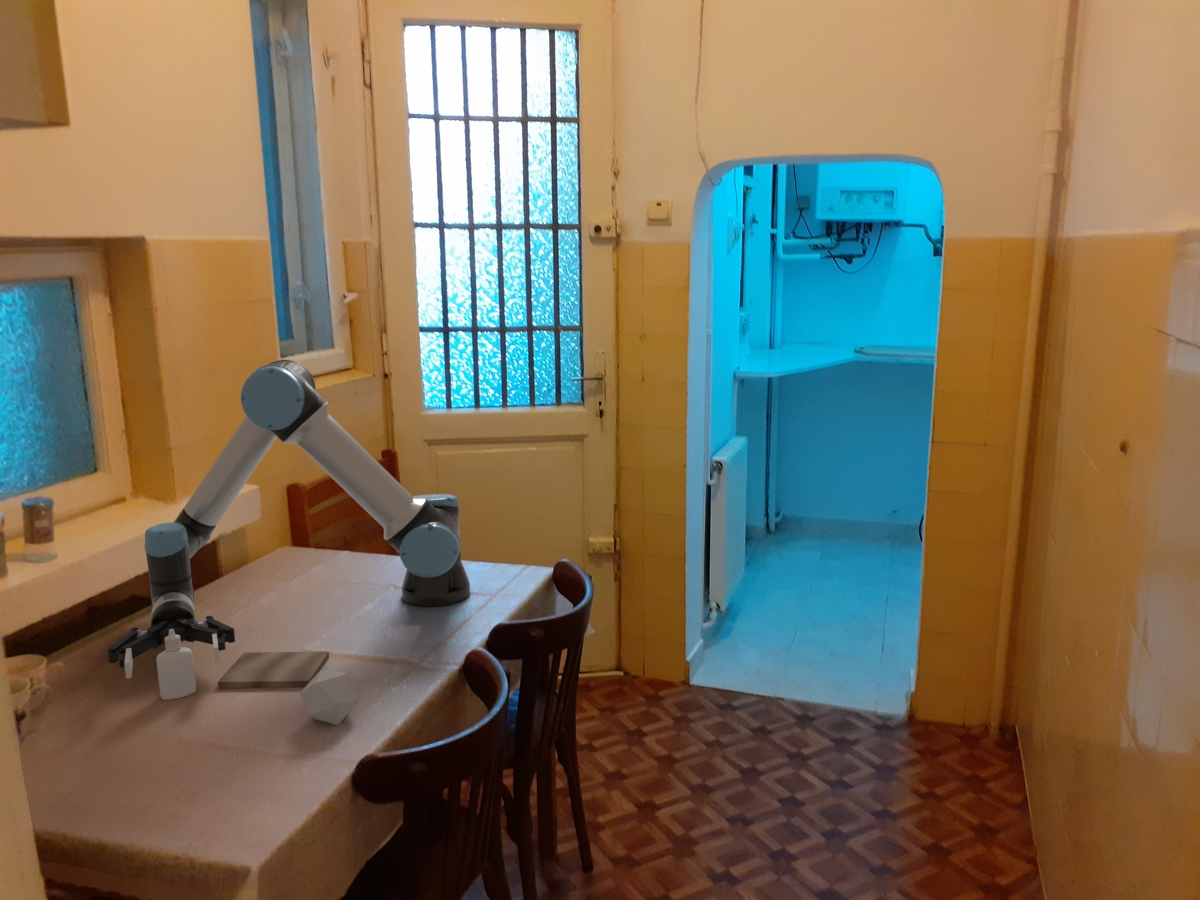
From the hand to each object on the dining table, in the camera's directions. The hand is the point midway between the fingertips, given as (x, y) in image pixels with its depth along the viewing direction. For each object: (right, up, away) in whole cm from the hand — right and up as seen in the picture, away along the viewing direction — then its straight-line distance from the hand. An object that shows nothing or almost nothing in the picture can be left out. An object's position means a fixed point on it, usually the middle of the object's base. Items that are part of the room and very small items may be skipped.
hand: (173, 662), depth 148 cm
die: (+28, -8, -5) cm, 30 cm away
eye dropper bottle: (-1, -7, +4) cm, 8 cm away
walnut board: (+13, -5, +12) cm, 18 cm away
